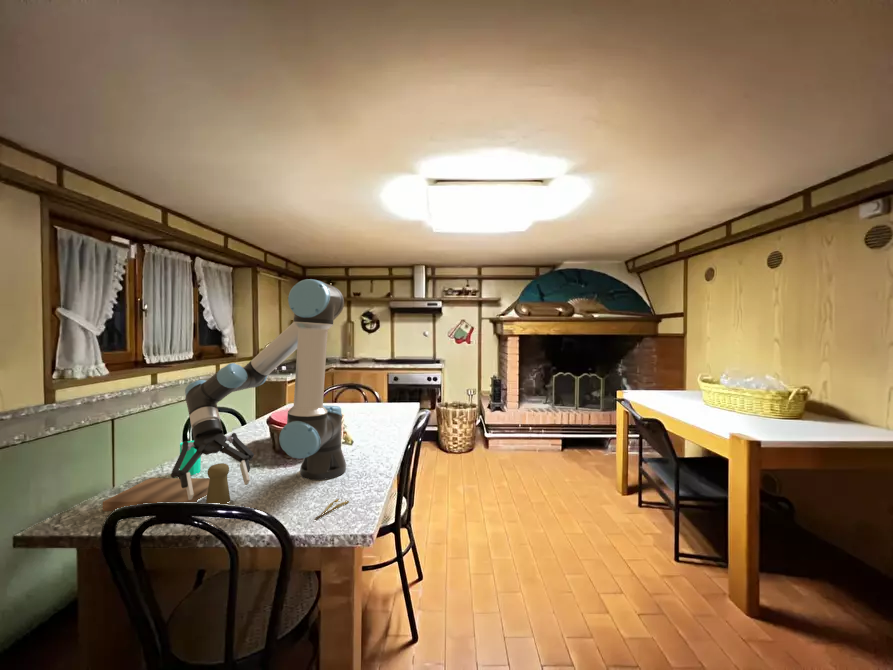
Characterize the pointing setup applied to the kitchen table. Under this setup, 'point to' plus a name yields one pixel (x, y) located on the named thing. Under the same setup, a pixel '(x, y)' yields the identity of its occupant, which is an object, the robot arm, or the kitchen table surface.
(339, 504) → the tongs
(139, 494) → the walnut board
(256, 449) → the kitchen table surface
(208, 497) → the cork
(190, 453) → the candle
